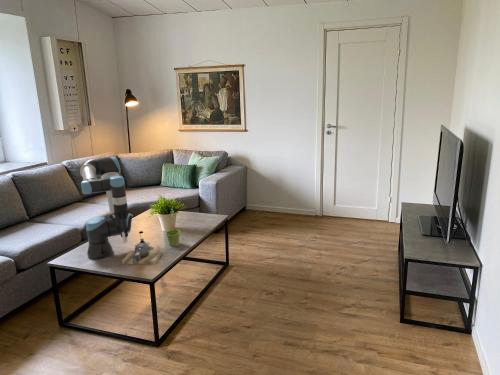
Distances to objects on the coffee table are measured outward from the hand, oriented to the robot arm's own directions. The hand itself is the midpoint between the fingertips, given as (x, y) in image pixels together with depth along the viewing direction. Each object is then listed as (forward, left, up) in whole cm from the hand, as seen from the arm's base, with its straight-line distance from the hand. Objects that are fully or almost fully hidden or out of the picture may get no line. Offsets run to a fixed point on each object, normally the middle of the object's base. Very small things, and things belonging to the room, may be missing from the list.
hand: (125, 242), depth 219 cm
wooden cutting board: (+6, +8, -15) cm, 18 cm away
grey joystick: (+1, +23, -15) cm, 28 cm away
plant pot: (+20, +29, -15) cm, 38 cm away
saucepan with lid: (+6, +4, -12) cm, 14 cm away
